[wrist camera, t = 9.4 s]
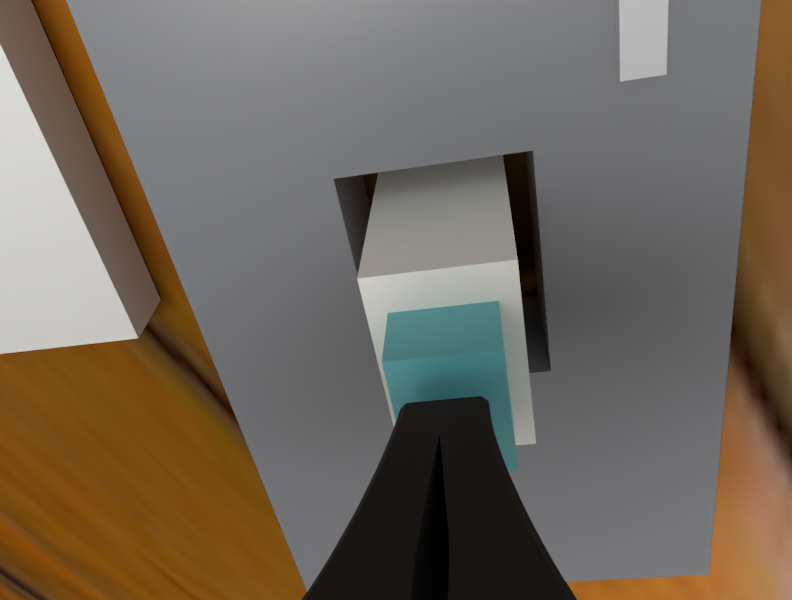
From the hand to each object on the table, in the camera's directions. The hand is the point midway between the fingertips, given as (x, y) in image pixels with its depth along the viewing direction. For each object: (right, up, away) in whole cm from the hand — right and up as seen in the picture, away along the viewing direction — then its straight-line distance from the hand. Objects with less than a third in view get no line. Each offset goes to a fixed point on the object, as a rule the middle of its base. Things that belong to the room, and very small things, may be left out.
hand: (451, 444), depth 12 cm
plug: (0, +4, +7) cm, 8 cm away
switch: (0, +5, +7) cm, 8 cm away
